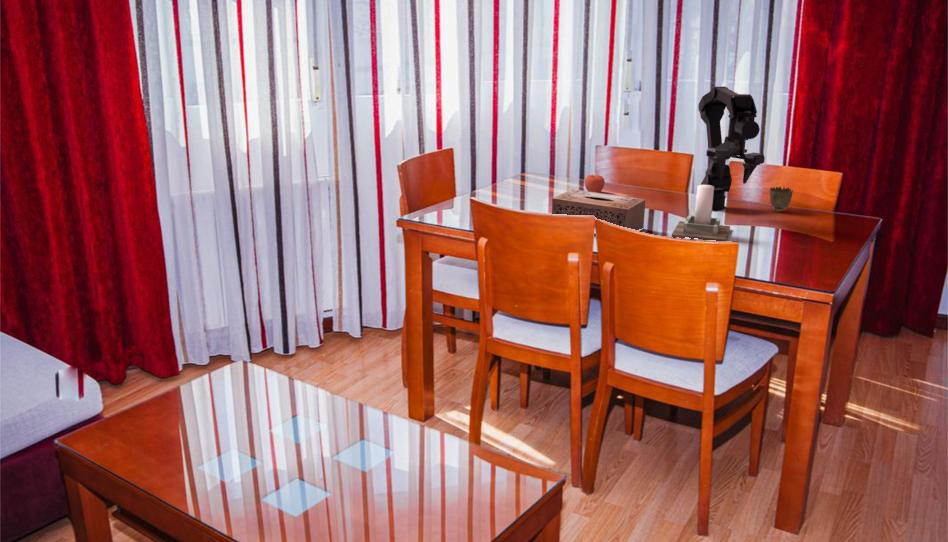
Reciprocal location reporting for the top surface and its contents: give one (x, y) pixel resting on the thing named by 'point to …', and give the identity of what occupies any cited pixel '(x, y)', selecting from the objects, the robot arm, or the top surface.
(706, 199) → the cream post
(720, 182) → the robot arm
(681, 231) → the collar seat
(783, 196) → the cup
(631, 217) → the tissue box cover
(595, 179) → the apple
